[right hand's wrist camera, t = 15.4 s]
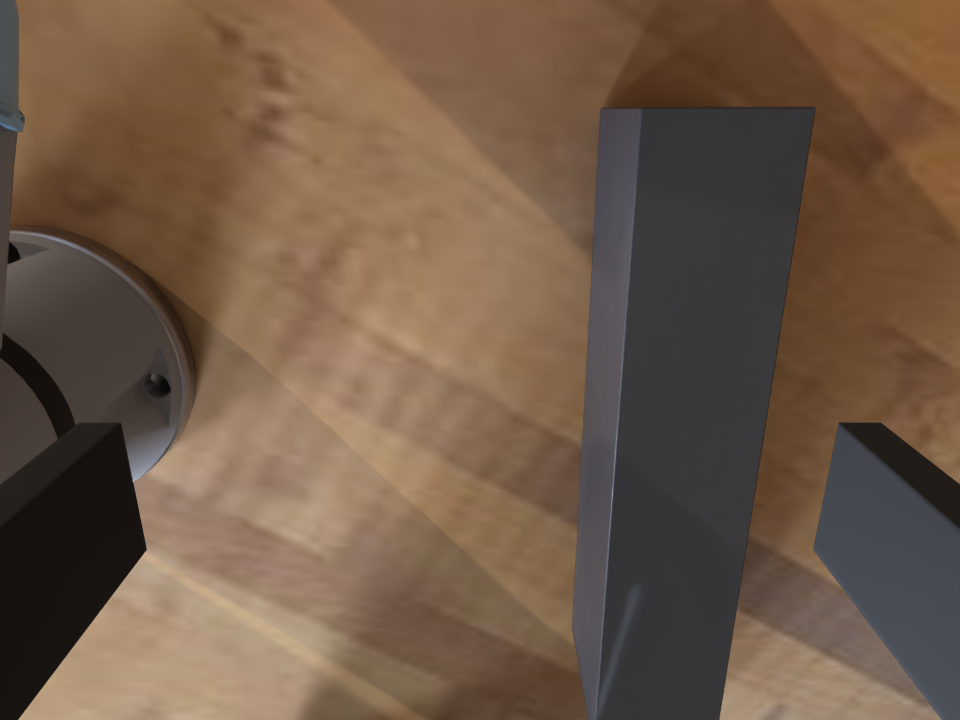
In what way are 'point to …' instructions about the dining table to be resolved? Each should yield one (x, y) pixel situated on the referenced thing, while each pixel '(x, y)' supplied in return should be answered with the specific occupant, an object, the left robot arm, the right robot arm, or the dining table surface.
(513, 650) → the dining table surface
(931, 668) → the right robot arm
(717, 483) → the charcoal box
